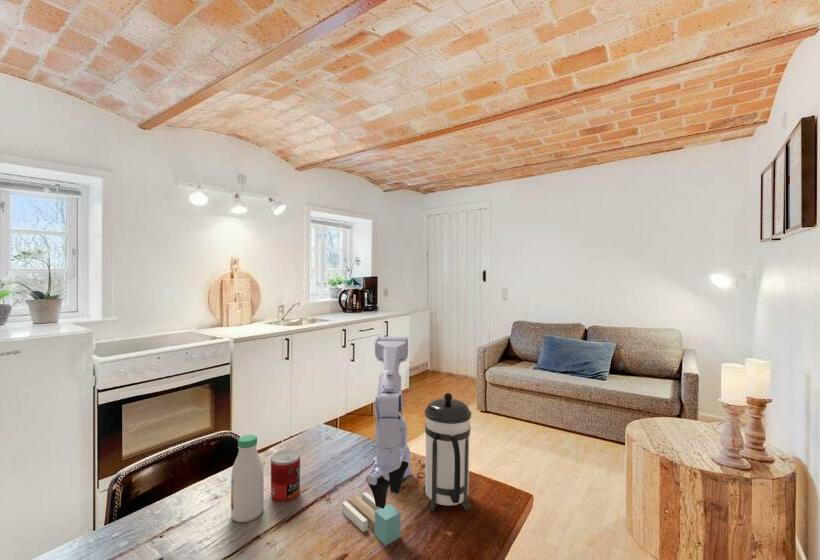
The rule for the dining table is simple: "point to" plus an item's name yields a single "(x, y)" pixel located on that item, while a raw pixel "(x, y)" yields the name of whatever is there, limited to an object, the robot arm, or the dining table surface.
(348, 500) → the rod
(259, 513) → the milk bottle
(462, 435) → the coffee press
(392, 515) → the block
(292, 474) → the canned food
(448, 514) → the dining table surface
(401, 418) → the robot arm
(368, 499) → the channel
